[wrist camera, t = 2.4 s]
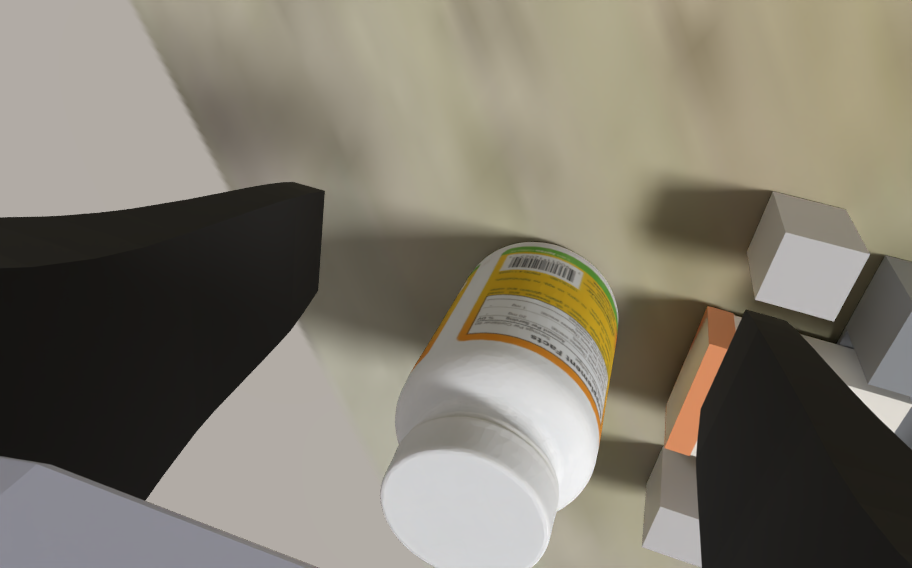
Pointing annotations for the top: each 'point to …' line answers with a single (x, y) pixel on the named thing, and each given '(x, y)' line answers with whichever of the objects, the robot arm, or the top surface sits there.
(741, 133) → the top surface
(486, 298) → the supplement bottle
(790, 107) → the top surface
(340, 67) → the top surface
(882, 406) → the orange-ended white block
